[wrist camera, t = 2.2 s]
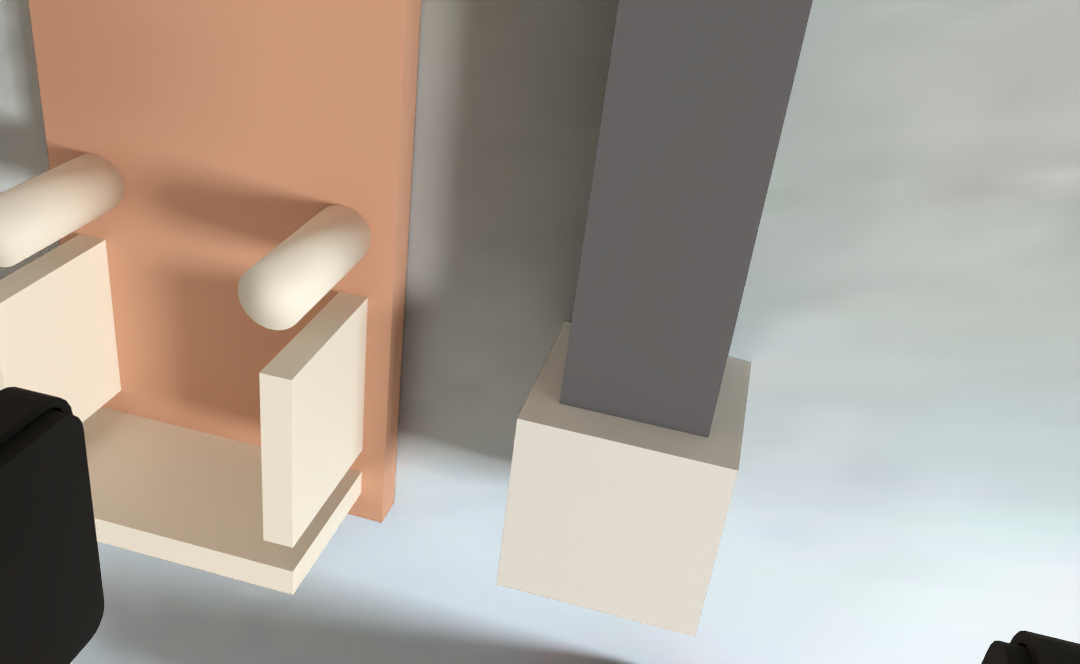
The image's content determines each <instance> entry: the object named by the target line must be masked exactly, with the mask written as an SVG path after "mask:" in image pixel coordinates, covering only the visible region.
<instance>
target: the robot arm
mask: <svg viewBox="0 0 1080 664" xmlns="http://www.w3.org/2000/svg"><path fill="white" fill-rule="evenodd" d="M103 611H104V596H103V588H102V579H101V571H100V562H99V554H98V545H97V537H96V528H95V520H94V511H93V503H92V495H91V486H90V478H89V469H88V461H87V452H86V444H85V435H84V428H83V424H82V421H81V420H80V419H79V417H77V416H75V415H73V412H72V409H71V406H70V405H69V403H68V402H67V401H66V400H64V399H62V398H60V397H56V396H52V395H48V394H43V393H39V392H35V391H31V390H27V389H23V388H19V387H6V388H4V389H2V390H0V664H70V663H71V661H72V660H73V659H74V658H75V657H76V656H77V655H78V653H79V652H80V651H81V650H82V649H83V648H84V647H85V645H86V644H87V643H88V642H89V641H90V640H91V638H92V637H93V635H94V634H95V633H96V631H97V629H98V627H99V625H100V622H101V619H102V616H103ZM982 664H1080V644H1078V643H1074V642H1069V641H1065V640H1061V639H1057V638H1053V637H1049V636H1045V635H1040V634H1036V633H1032V632H1028V631H1019V632H1018V633H1017V634H1016V635H1015V636H1014V637H1013V639H1012V640H1011V642H1010V643H1006V642H1002V641H994V642H993V643H992V644H991V645H990V647H989V649H988V650H987V653H986V655H985V657H984V659H983V661H982Z"/></svg>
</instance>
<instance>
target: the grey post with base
mask: <svg viewBox="0 0 1080 664" xmlns="http://www.w3.org/2000/svg"><path fill="white" fill-rule="evenodd" d="M812 1H813V0H619V2H618V9H617V15H616V22H615V29H614V36H613V43H612V49H611V56H610V63H609V70H608V76H607V83H606V90H605V97H604V104H603V110H602V117H601V124H600V131H599V137H598V144H597V151H596V158H595V164H594V171H593V178H592V185H591V192H590V198H589V205H588V212H587V219H586V225H585V232H584V239H583V246H582V253H581V259H580V266H579V273H578V280H577V286H576V293H575V300H574V307H573V314H572V320H571V323H570V322H565V323H564V325H563V327H562V329H561V331H560V333H559V335H558V337H557V339H556V341H555V343H554V345H553V347H552V349H551V351H550V353H549V355H548V357H547V359H546V361H545V363H544V365H543V367H542V369H541V371H540V373H539V375H538V377H537V379H536V381H535V383H534V385H533V387H532V389H531V391H530V394H529V396H528V398H527V400H526V402H525V404H524V406H523V408H522V410H521V412H520V414H519V416H518V418H517V424H516V432H515V440H514V448H513V456H512V464H511V472H510V480H509V488H508V496H507V504H506V512H505V520H504V528H503V536H502V544H501V552H500V560H499V568H498V577H497V585H500V586H504V587H508V588H512V589H516V590H519V591H523V592H527V593H531V594H535V595H538V596H542V597H546V598H550V599H554V600H557V601H561V602H565V603H569V604H573V605H576V606H580V607H584V608H588V609H592V610H595V611H599V612H603V613H607V614H611V615H614V616H618V617H622V618H626V619H630V620H633V621H637V622H641V623H645V624H649V625H652V626H656V627H660V628H664V629H668V630H671V631H675V632H679V633H683V634H687V635H690V636H694V637H695V635H696V631H697V627H698V623H699V619H700V615H701V612H702V608H703V604H704V600H705V596H706V592H707V589H708V585H709V581H710V577H711V573H712V569H713V566H714V562H715V558H716V554H717V550H718V546H719V543H720V539H721V535H722V531H723V527H724V523H725V520H726V516H727V512H728V508H729V504H730V500H731V497H732V493H733V489H734V485H735V481H736V477H737V473H738V469H739V460H740V452H741V444H742V435H743V427H744V419H745V410H746V402H747V394H748V385H749V377H750V369H751V362H748V361H744V360H739V359H734V358H730V357H728V353H729V349H730V345H731V341H732V337H733V332H734V328H735V324H736V320H737V316H738V311H739V307H740V303H741V299H742V295H743V290H744V286H745V282H746V278H747V274H748V269H749V265H750V261H751V257H752V253H753V248H754V244H755V240H756V236H757V232H758V227H759V223H760V219H761V215H762V211H763V206H764V202H765V198H766V194H767V190H768V185H769V181H770V177H771V173H772V169H773V165H774V160H775V156H776V152H777V148H778V144H779V139H780V135H781V131H782V127H783V123H784V118H785V114H786V110H787V106H788V102H789V97H790V93H791V89H792V85H793V81H794V76H795V72H796V68H797V64H798V60H799V55H800V51H801V47H802V43H803V39H804V34H805V30H806V26H807V22H808V18H809V13H810V9H811V5H812Z"/></svg>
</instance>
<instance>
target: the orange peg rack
mask: <svg viewBox="0 0 1080 664" xmlns="http://www.w3.org/2000/svg"><path fill="white" fill-rule="evenodd" d="M421 2H422V0H28V3H29V10H30V18H31V26H32V34H33V42H34V49H35V57H36V65H37V73H38V80H39V88H40V96H41V104H42V112H43V119H44V127H45V135H46V143H47V150H48V158H49V166H50V170H49V171H47V172H44V173H42V174H40V175H38V176H36V177H34V178H32V179H30V180H27V181H25V182H23V183H21V184H19V185H17V186H15V187H13V188H10V189H8V190H6V191H4V192H2V193H0V267H10V266H13V265H15V264H17V263H19V262H21V261H22V260H24V259H26V258H28V257H29V256H31V255H33V254H35V253H36V252H38V251H40V250H42V249H43V248H45V247H47V246H49V245H50V244H52V243H54V242H56V241H58V240H59V244H60V246H58V247H56V248H55V249H53V250H51V251H49V252H48V253H46V254H44V255H43V256H41V257H39V258H37V259H36V260H34V261H32V262H30V263H29V264H27V265H25V266H23V267H22V268H20V269H18V270H16V271H15V272H13V273H11V274H10V275H8V276H6V277H4V278H3V279H1V280H0V390H2V389H4V388H6V387H19V388H23V389H27V390H31V391H35V392H39V393H43V394H48V395H52V396H56V397H60V398H62V399H64V400H66V401H67V402H68V403H69V405H70V406H71V409H72V412H73V415H75V416H77V417H79V419H80V420H81V421H82V424H83V428H84V435H85V444H86V452H87V461H88V469H89V478H90V486H91V495H92V503H93V511H94V520H95V528H96V537H97V541H98V542H102V543H105V544H109V545H113V546H116V547H120V548H124V549H127V550H131V551H135V552H138V553H142V554H146V555H149V556H153V557H157V558H160V559H164V560H167V561H171V562H175V563H178V564H182V565H186V566H189V567H193V568H197V569H200V570H204V571H208V572H211V573H215V574H219V575H222V576H226V577H229V578H233V579H237V580H240V581H244V582H248V583H251V584H255V585H259V586H262V587H266V588H270V589H273V590H277V591H281V592H284V593H288V594H291V595H293V594H294V593H295V591H296V590H297V588H298V587H299V585H300V584H301V582H302V581H303V579H304V578H305V576H306V575H307V573H308V572H309V570H310V569H311V567H312V566H313V564H314V563H315V561H316V560H317V558H318V557H319V555H320V554H321V552H322V551H323V549H324V548H325V546H326V545H327V543H328V542H329V540H330V539H331V537H332V536H333V534H334V533H335V531H336V530H337V528H338V527H339V525H340V524H341V522H342V521H343V519H344V518H345V516H346V515H347V514H351V515H355V516H358V517H362V518H366V519H370V520H374V521H378V522H382V521H383V520H384V518H385V516H386V515H387V513H388V512H389V510H390V508H391V507H392V505H393V503H394V491H395V472H396V454H397V436H398V418H399V400H400V382H401V364H402V346H403V328H404V310H405V292H406V273H407V255H408V237H409V219H410V201H411V183H412V165H413V147H414V129H415V111H416V93H417V74H418V56H419V38H420V20H421Z"/></svg>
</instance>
